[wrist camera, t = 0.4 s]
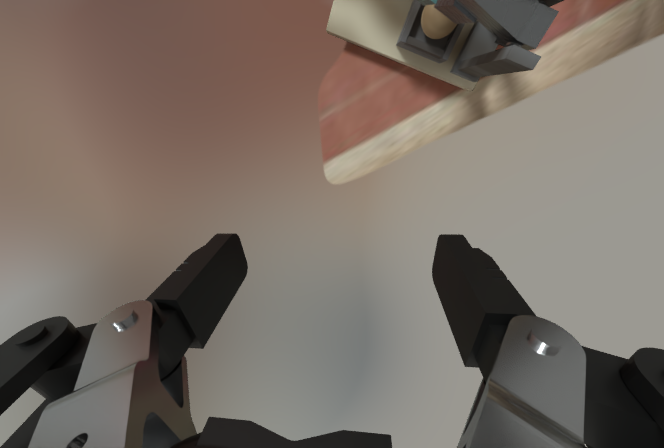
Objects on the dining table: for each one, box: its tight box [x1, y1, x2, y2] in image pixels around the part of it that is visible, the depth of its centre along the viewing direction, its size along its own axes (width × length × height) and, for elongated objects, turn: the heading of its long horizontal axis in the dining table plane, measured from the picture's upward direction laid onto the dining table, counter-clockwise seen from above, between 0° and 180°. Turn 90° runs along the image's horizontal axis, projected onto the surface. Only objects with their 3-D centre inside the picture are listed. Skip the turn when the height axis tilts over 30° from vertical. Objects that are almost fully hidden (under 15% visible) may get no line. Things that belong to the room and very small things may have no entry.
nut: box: [421, 4, 457, 39], centre depth 23 cm, size 4×4×4 cm
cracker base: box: [326, 0, 564, 91], centre depth 22 cm, size 8×19×13 cm, turn 71°
